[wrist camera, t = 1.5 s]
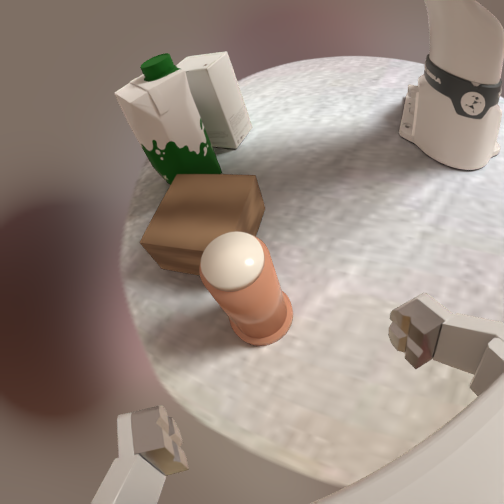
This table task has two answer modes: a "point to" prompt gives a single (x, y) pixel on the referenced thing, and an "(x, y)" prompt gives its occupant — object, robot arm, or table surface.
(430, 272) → the table surface
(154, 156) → the milk carton
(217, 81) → the skincare box
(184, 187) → the block
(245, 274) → the canister
